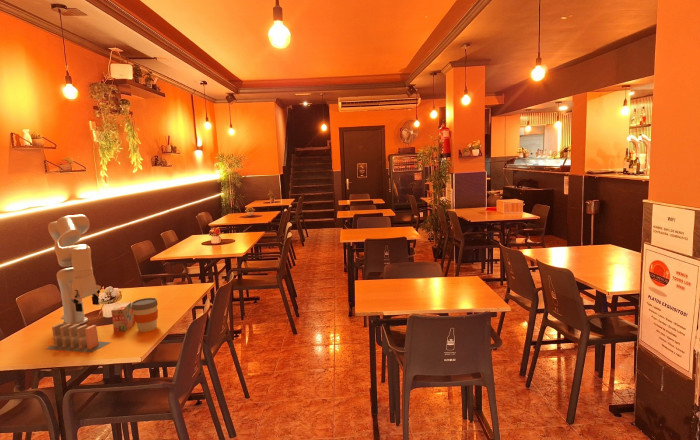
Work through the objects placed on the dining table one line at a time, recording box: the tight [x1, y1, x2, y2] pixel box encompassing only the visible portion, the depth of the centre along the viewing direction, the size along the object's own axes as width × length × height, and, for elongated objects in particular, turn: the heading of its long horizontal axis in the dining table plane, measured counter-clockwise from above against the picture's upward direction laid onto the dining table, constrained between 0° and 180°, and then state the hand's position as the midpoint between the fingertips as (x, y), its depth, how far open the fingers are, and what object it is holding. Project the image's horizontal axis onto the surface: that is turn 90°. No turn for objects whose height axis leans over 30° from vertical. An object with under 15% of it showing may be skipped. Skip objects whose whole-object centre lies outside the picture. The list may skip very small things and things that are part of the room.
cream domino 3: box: [68, 324, 81, 348], centre depth 225 cm, size 2×5×10 cm, turn 165°
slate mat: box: [45, 341, 112, 354], centre depth 226 cm, size 28×12×1 cm, turn 74°
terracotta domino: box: [85, 324, 99, 349], centre depth 223 cm, size 2×5×10 cm, turn 164°
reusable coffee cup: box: [131, 297, 159, 333], centre depth 244 cm, size 12×12×15 cm
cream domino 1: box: [51, 322, 64, 347], centre depth 228 cm, size 2×5×10 cm, turn 165°
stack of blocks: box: [110, 301, 136, 332], centre depth 253 cm, size 21×6×12 cm, turn 8°
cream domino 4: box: [77, 324, 89, 348], centre depth 224 cm, size 2×5×10 cm, turn 165°
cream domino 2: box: [60, 324, 72, 347], centre depth 227 cm, size 2×5×10 cm, turn 165°
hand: (87, 307), depth 221 cm, fingers open, 9 cm apart
